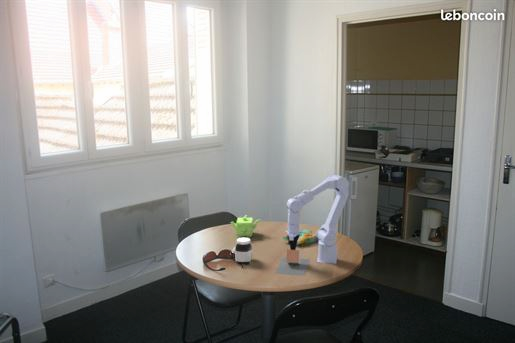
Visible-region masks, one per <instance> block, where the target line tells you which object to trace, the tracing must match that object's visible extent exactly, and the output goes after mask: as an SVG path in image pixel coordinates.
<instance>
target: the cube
mask: <svg viewBox="0 0 515 343" xmlns="http://www.w3.org/2000/svg"><path fill="white" fill-rule="evenodd" d="M301 253H302V252H301V251H300V250H298V249H295V250H291V249H286V256H285V258H286V262H287V263H293V264H300V259H301Z"/></svg>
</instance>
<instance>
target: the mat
mask: <svg viewBox="0 0 515 343" xmlns="http://www.w3.org/2000/svg"><path fill="white" fill-rule="evenodd" d="M309 262H310V259H309V258H300V264H293V263H287V262H286V256H285V257H284V256H283V257H281V259H280V260H279V263H278V266H277V267H276V271H275V273H274V274H278V275H280V274H282V275H292V276H294V275H295V276H306V273H307V271H308V270H307V269H308V266H309Z"/></svg>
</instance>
